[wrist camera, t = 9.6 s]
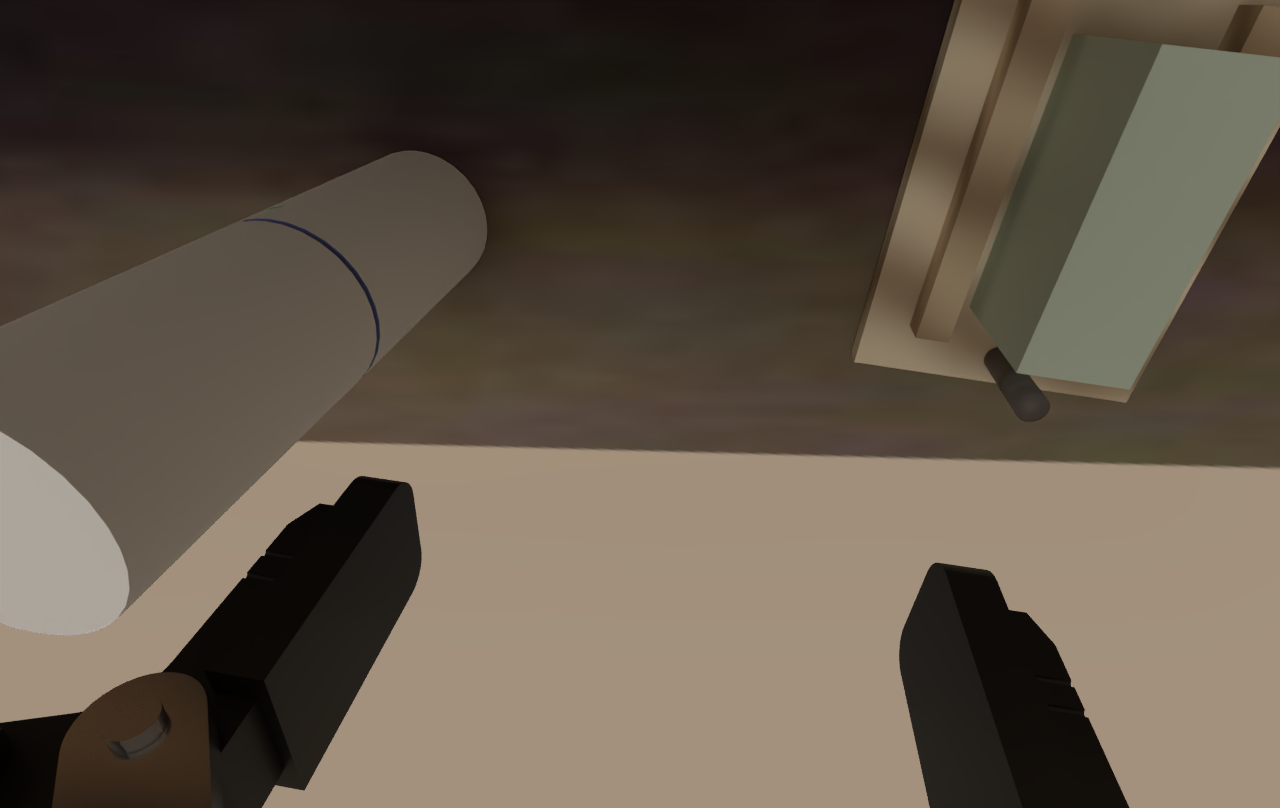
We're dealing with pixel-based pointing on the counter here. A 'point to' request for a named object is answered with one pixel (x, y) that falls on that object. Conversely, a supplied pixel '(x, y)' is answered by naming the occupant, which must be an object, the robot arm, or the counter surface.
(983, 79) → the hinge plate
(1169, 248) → the rectangular block
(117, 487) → the cylindrical container
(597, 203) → the counter surface
